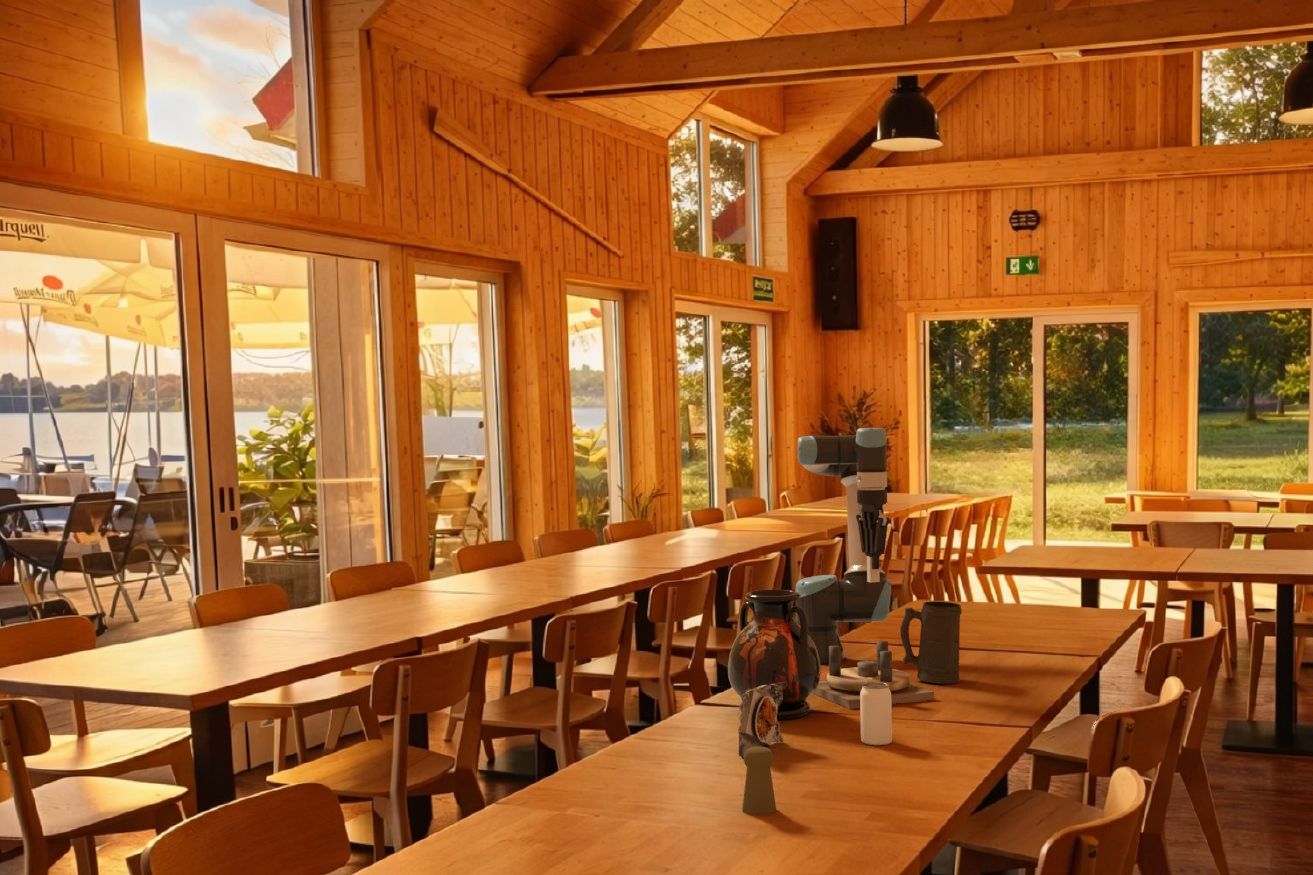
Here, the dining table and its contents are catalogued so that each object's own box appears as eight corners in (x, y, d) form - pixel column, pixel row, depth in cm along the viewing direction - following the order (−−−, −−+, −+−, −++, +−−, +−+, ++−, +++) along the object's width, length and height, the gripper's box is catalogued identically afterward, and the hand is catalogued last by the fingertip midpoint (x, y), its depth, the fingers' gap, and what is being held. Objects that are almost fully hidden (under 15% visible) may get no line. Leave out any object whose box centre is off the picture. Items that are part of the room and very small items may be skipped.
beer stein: (959, 676, 338) (958, 600, 338) (965, 685, 327) (964, 606, 327) (899, 676, 340) (898, 600, 339) (903, 685, 329) (902, 606, 329)
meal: (757, 759, 261) (755, 694, 260) (738, 757, 263) (737, 692, 263) (789, 743, 273) (788, 681, 273) (771, 740, 276) (770, 679, 275)
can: (894, 739, 274) (893, 682, 274) (889, 746, 268) (888, 689, 268) (863, 737, 277) (862, 681, 276) (858, 744, 270) (857, 687, 270)
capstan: (879, 672, 331) (879, 637, 331) (926, 686, 313) (926, 649, 313) (811, 679, 323) (811, 643, 323) (855, 695, 305) (855, 657, 305)
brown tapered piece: (739, 805, 230) (738, 744, 230) (773, 804, 230) (772, 742, 230) (744, 816, 224) (743, 752, 224) (779, 814, 224) (778, 751, 224)
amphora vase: (709, 714, 300) (707, 594, 300) (766, 698, 316) (764, 584, 316) (783, 728, 286) (781, 602, 285) (840, 711, 301) (838, 591, 301)
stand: (805, 690, 325) (804, 680, 325) (885, 682, 333) (885, 673, 333) (849, 708, 303) (849, 699, 303) (934, 699, 311) (934, 690, 311)
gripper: (846, 488, 333) (847, 579, 333) (871, 490, 321) (873, 585, 321) (872, 487, 336) (873, 578, 336) (898, 489, 323) (899, 583, 324)
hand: (873, 581), depth 329 cm, fingers closed
